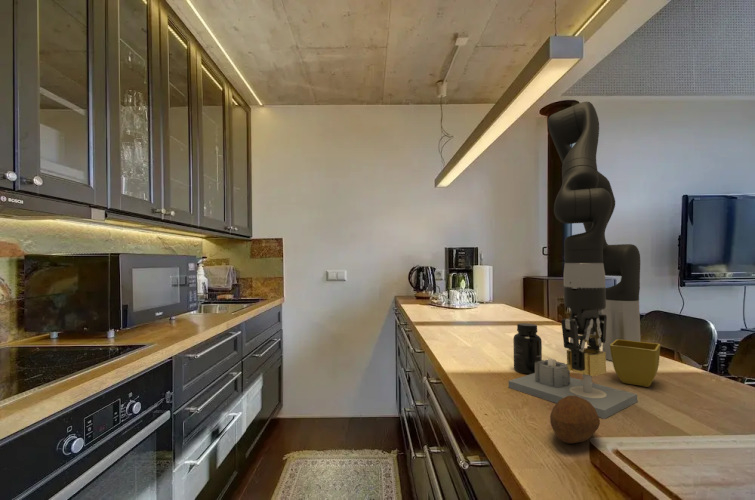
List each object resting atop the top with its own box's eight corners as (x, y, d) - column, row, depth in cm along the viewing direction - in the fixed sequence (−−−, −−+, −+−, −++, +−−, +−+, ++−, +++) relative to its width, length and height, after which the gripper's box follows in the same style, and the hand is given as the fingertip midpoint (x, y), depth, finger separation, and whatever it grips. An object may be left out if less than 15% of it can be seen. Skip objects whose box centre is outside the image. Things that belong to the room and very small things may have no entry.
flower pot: (610, 383, 84) (609, 344, 84) (617, 374, 90) (616, 338, 91) (657, 392, 78) (656, 350, 78) (662, 382, 84) (660, 343, 85)
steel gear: (547, 376, 84) (546, 359, 84) (572, 383, 79) (571, 364, 80) (532, 381, 81) (532, 363, 81) (557, 388, 76) (557, 369, 76)
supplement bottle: (545, 375, 90) (544, 327, 90) (516, 374, 91) (515, 326, 92) (538, 367, 97) (537, 322, 97) (511, 366, 98) (511, 322, 98)
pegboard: (543, 376, 89) (543, 349, 90) (637, 401, 73) (636, 369, 73) (508, 387, 81) (508, 358, 82) (604, 418, 65) (603, 382, 65)
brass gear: (579, 365, 78) (578, 346, 78) (608, 371, 74) (607, 351, 74) (564, 369, 75) (564, 350, 75) (594, 376, 70) (593, 356, 70)
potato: (603, 431, 60) (602, 389, 60) (597, 463, 51) (596, 412, 51) (558, 421, 64) (557, 381, 64) (545, 449, 55) (544, 402, 55)
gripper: (583, 283, 82) (584, 358, 81) (547, 285, 74) (549, 368, 73) (619, 284, 76) (622, 365, 75) (585, 287, 68) (587, 378, 67)
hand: (586, 366), depth 74 cm, fingers closed on brass gear, 5 cm apart
